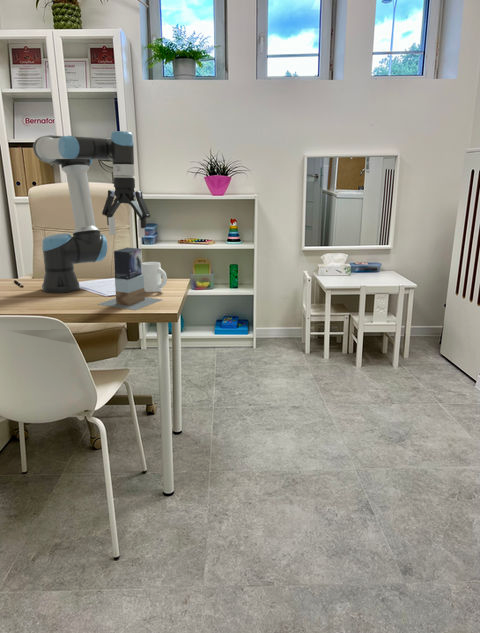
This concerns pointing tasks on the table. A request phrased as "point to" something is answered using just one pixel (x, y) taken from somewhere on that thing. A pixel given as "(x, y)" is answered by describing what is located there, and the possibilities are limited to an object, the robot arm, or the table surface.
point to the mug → (153, 276)
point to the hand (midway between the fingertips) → (126, 235)
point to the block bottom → (130, 297)
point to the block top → (129, 284)
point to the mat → (132, 307)
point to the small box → (127, 263)
